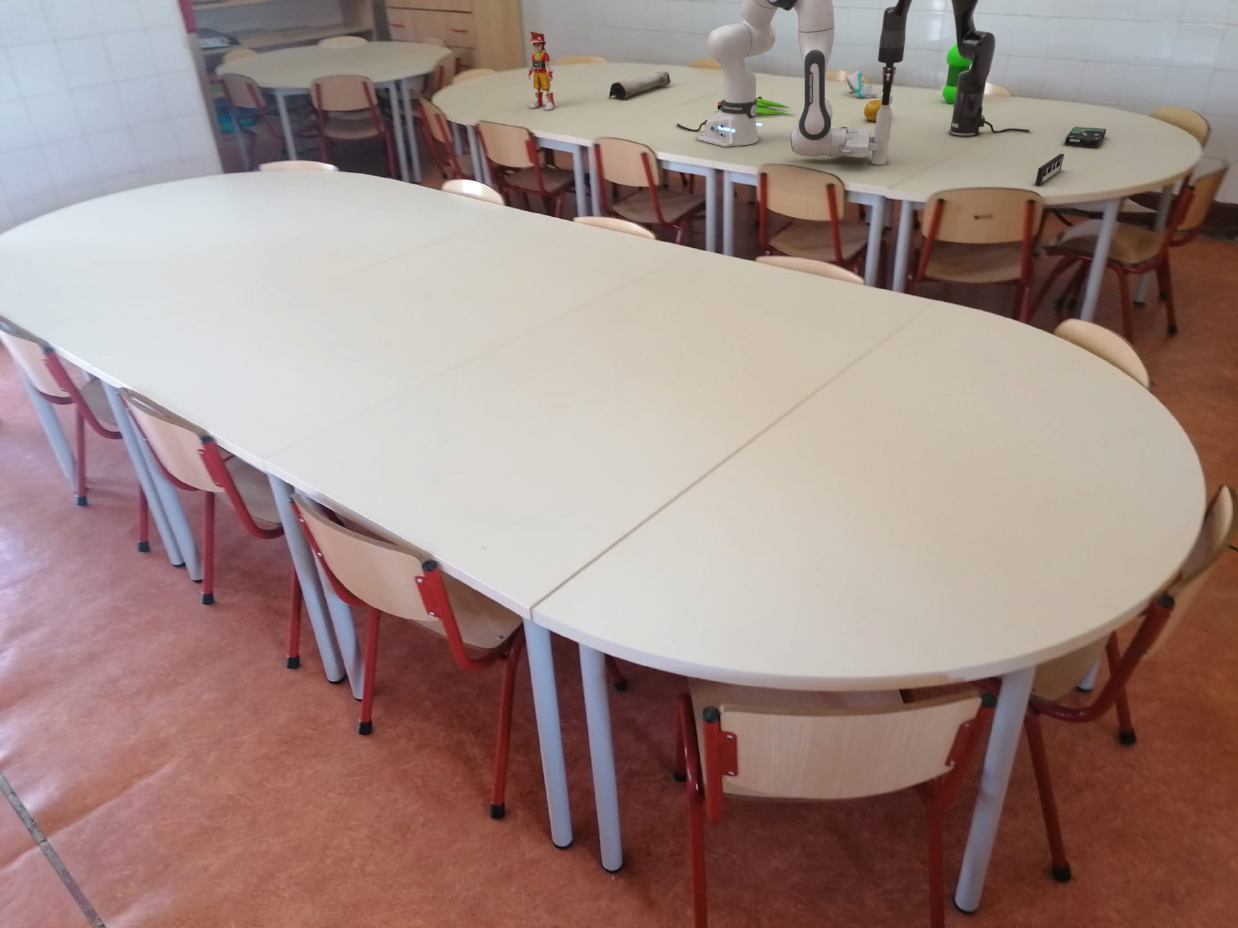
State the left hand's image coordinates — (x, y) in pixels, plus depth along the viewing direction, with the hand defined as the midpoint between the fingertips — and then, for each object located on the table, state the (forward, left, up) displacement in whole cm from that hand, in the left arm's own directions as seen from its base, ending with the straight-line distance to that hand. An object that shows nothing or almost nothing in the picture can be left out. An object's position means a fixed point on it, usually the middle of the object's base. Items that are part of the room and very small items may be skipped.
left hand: (883, 143), depth 292 cm
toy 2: (-72, +37, -6) cm, 81 cm away
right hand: (-1, 0, +13) cm, 13 cm away
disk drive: (+47, +54, -6) cm, 72 cm away
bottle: (-1, 0, -6) cm, 6 cm away
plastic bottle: (-11, +86, -6) cm, 87 cm away
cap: (-1, 0, +14) cm, 14 cm away
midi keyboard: (+50, +10, -6) cm, 51 cm away
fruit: (-26, +47, -6) cm, 54 cm away
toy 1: (-157, +2, -6) cm, 157 cm away
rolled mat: (-136, +44, -6) cm, 143 cm away
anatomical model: (-49, +81, -6) cm, 95 cm away
